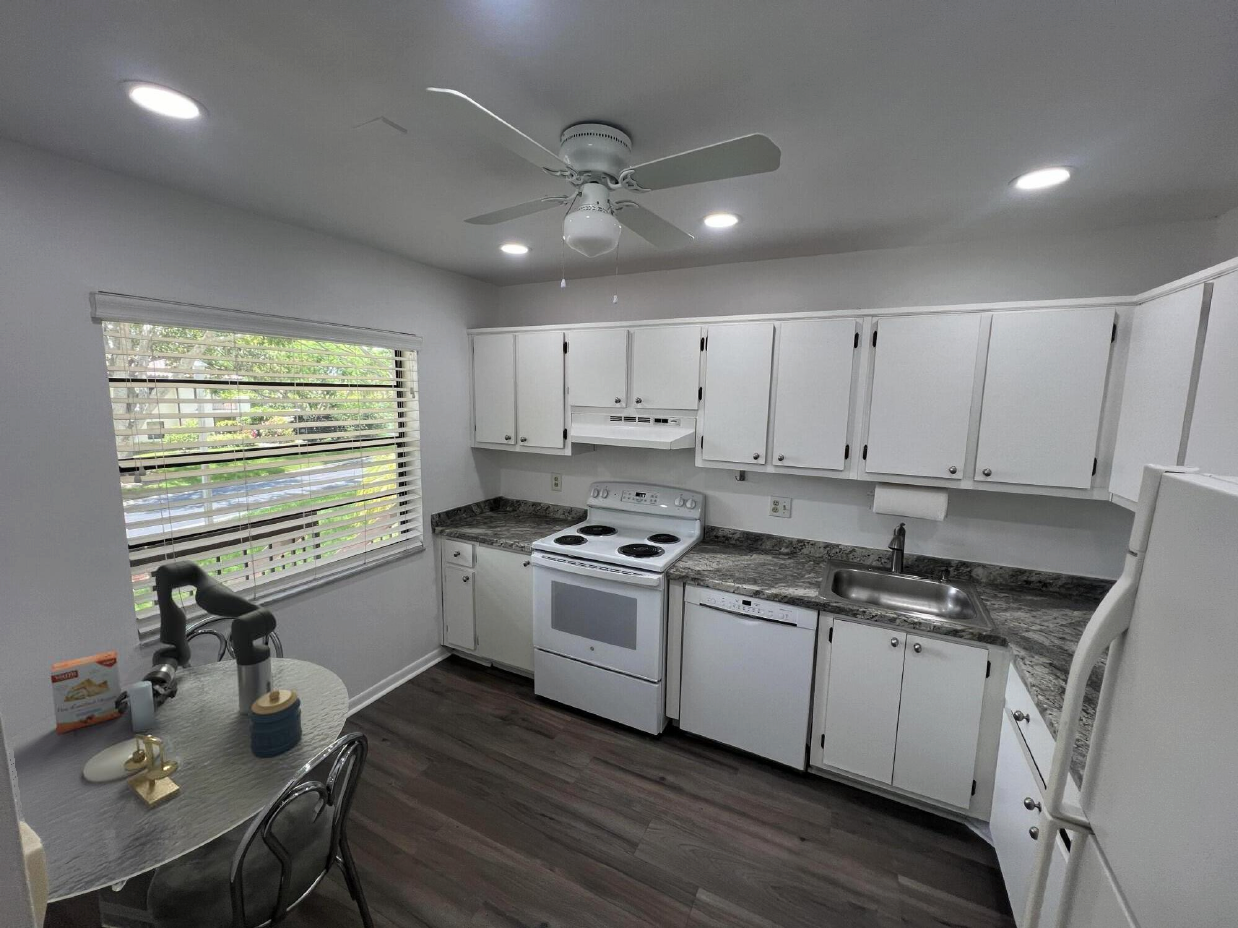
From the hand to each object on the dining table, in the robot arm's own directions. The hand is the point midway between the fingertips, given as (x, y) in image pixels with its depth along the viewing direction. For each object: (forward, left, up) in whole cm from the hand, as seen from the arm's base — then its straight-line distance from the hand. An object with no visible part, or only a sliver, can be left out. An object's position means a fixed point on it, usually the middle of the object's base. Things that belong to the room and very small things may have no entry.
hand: (140, 707), depth 152 cm
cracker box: (+15, -12, -8) cm, 21 cm away
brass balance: (-10, +30, -8) cm, 33 cm away
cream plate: (0, +14, -8) cm, 16 cm away
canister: (-37, +24, -8) cm, 45 cm away
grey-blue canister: (0, -2, -8) cm, 8 cm away
